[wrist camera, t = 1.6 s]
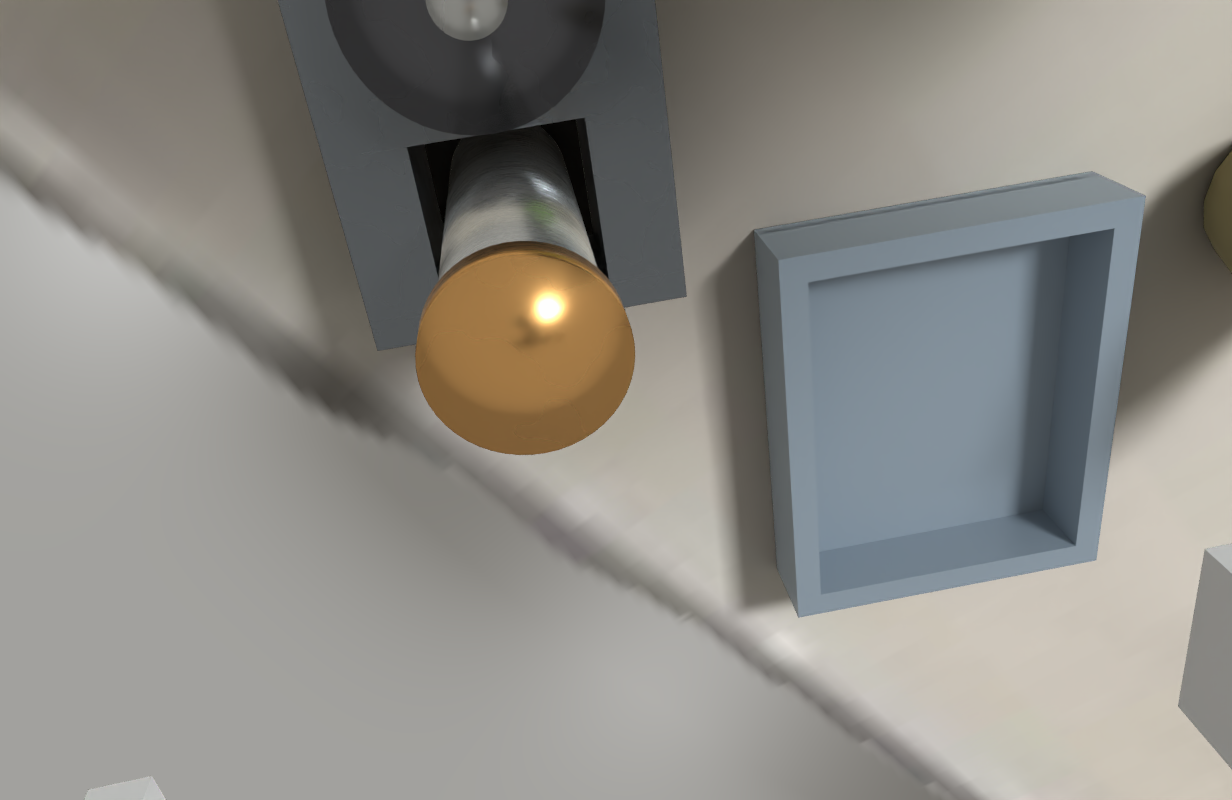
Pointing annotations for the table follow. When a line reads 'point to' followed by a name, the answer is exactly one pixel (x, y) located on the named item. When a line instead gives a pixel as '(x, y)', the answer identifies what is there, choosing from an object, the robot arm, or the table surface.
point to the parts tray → (944, 386)
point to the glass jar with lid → (520, 305)
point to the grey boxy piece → (485, 128)
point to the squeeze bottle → (1220, 211)
